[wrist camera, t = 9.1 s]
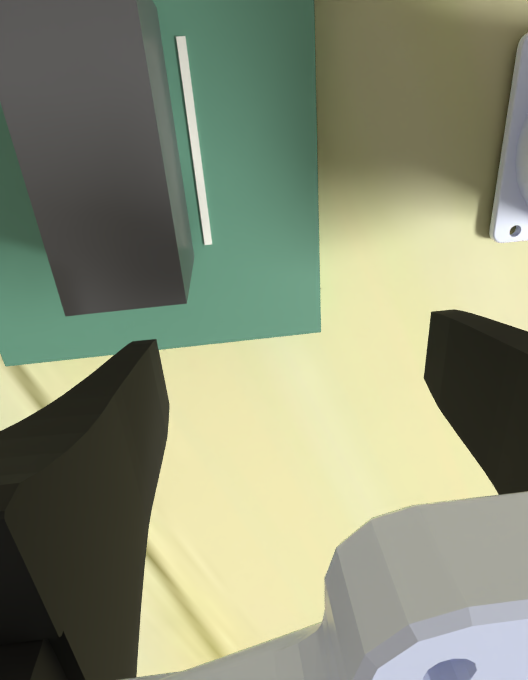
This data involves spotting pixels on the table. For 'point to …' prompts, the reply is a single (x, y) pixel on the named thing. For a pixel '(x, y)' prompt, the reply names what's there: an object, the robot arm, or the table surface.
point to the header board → (201, 194)
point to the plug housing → (98, 149)
